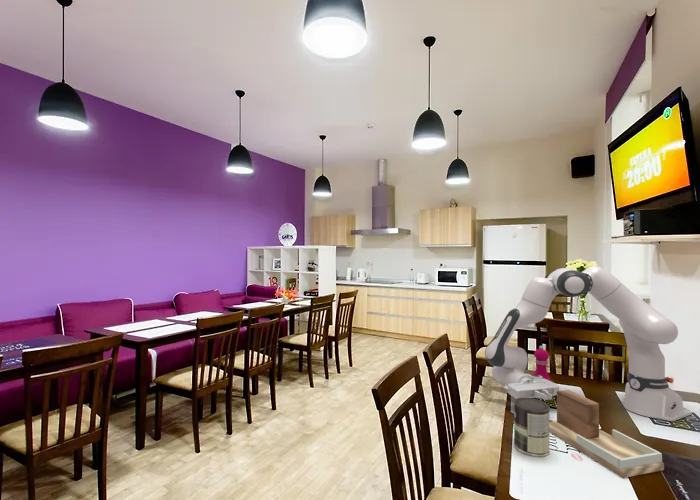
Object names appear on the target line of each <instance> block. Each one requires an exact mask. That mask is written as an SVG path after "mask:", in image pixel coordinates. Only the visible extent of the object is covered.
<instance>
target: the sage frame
mask: <svg viewBox="0 0 700 500" xmlns="http://www.w3.org/2000/svg"><path fill="white" fill-rule="evenodd" d="M611 436H612V437H613V438H614V439H616V440H618V441H620V442H622V443H624V444H626V445H628V446H630V447H631V448H633V449H635V450H637V451H639V452H641V453H643V454H644V455H639V456H633V457H627V458H621V459H620V458H619V457H617V456H615V455H613V454H612V453H610V452H608V451H606V450H605V449H603V448H601V447H599V446H598V445H596V444H594V443H593V442H591V441H589V440H587V439H586V438H584V437H582V436H580V435H577V443H578V444H580V445H581V446H583V447H584V448H586V449H588V450H589V451H591V452H593V453H594V454H596V455H598V456H599V457H601V458H603V459H604V460H606V461H608V462H609V463H611V464H613V465H614V466H616V467H618V468H619V469H621V470H622V469H627V468H633V467H638V466H644V465H649V464H655V463H660V462H663V453H662V452H660V451H659V450H656V449H654V448H652V447H650V446H648V445H646V444H644V443H642V442H640V441H638V440H636V439H635V438H632V437H630V436H628V435H626V434H624V433H622V432H620V431H618V430H617V429H615V428H614V429H611Z"/></svg>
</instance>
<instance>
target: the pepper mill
mask: <svg viewBox="0 0 700 500" xmlns="http://www.w3.org/2000/svg"><path fill="white" fill-rule="evenodd" d="M533 355H534V358H535V362H534V363H535V364H536V366H535V367H536V368H535V372H534V373H533V375H540V376H542V377H543V379H547V380H549V381H551V377H550V375H549V372H548V370H547V369H548V368H547V366H548V364H549V363H548V361H549V360H548V359H549V358H550V354H549V352H548V351H547V350H546V349H544V346H543V345H539V347H538V348H537V349H535V350H534V352H533Z"/></svg>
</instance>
